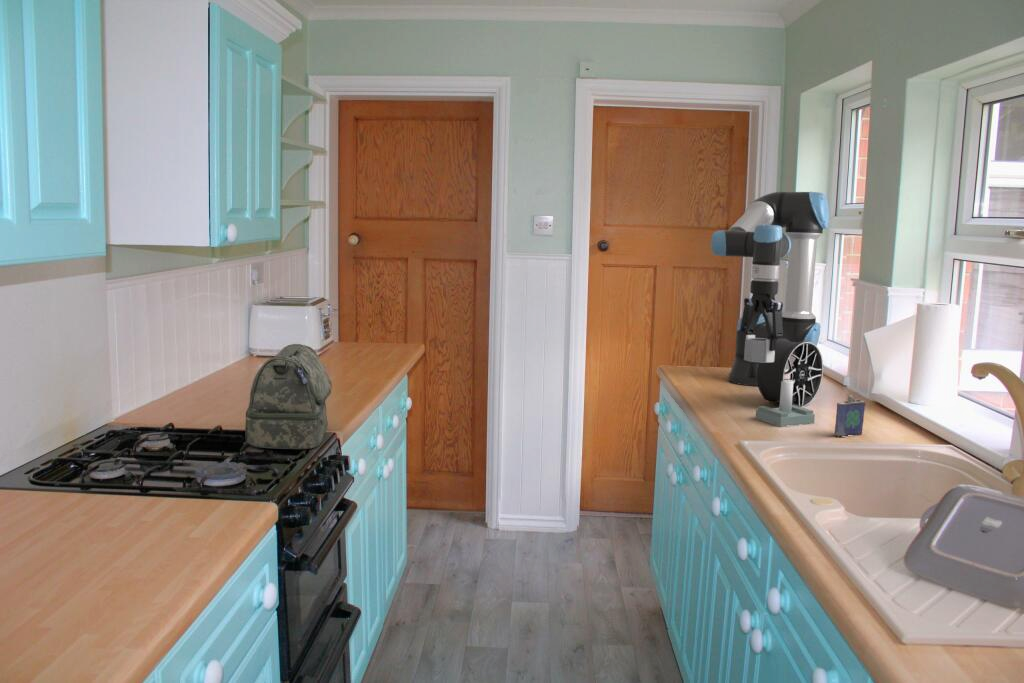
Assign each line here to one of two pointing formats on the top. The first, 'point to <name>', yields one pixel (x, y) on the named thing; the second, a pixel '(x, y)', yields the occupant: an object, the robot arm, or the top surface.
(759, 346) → the block
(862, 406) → the flask
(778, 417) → the shaft block
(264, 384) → the lunch bag
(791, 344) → the wheel rim
